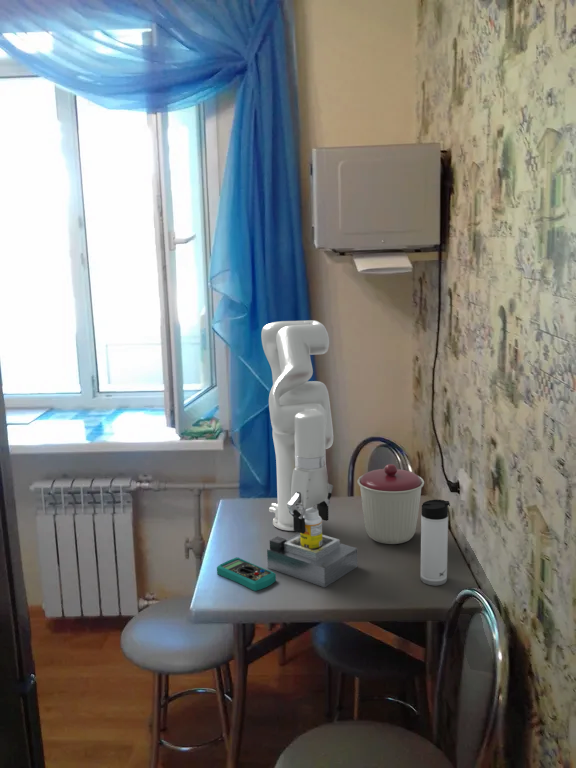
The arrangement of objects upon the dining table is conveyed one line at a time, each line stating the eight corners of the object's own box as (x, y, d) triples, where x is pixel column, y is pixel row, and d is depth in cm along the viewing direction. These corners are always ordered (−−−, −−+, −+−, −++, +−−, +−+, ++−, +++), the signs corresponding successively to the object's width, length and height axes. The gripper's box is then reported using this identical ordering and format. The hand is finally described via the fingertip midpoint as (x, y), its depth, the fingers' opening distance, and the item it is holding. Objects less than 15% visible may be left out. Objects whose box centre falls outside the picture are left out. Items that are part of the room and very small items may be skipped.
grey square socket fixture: (267, 567, 181) (266, 540, 179) (301, 549, 191) (301, 523, 190) (324, 587, 169) (324, 558, 168) (357, 566, 180) (357, 539, 178)
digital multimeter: (256, 594, 168) (256, 582, 167) (215, 575, 178) (215, 564, 178) (278, 583, 173) (278, 572, 173) (237, 565, 183) (237, 555, 183)
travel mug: (448, 586, 168) (450, 506, 164) (420, 585, 169) (421, 505, 166) (447, 574, 174) (449, 497, 170) (420, 573, 175) (421, 496, 172)
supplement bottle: (297, 546, 181) (296, 508, 179) (317, 542, 183) (316, 504, 181) (305, 554, 176) (303, 515, 174) (325, 550, 178) (324, 512, 176)
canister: (351, 546, 192) (350, 471, 188) (365, 521, 209) (365, 453, 205) (418, 554, 186) (418, 477, 182) (427, 528, 203) (428, 457, 199)
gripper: (319, 449, 184) (319, 511, 187) (276, 467, 171) (277, 533, 174) (342, 454, 179) (343, 518, 183) (300, 473, 166) (301, 541, 170)
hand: (311, 525), depth 179 cm, fingers open, 9 cm apart
